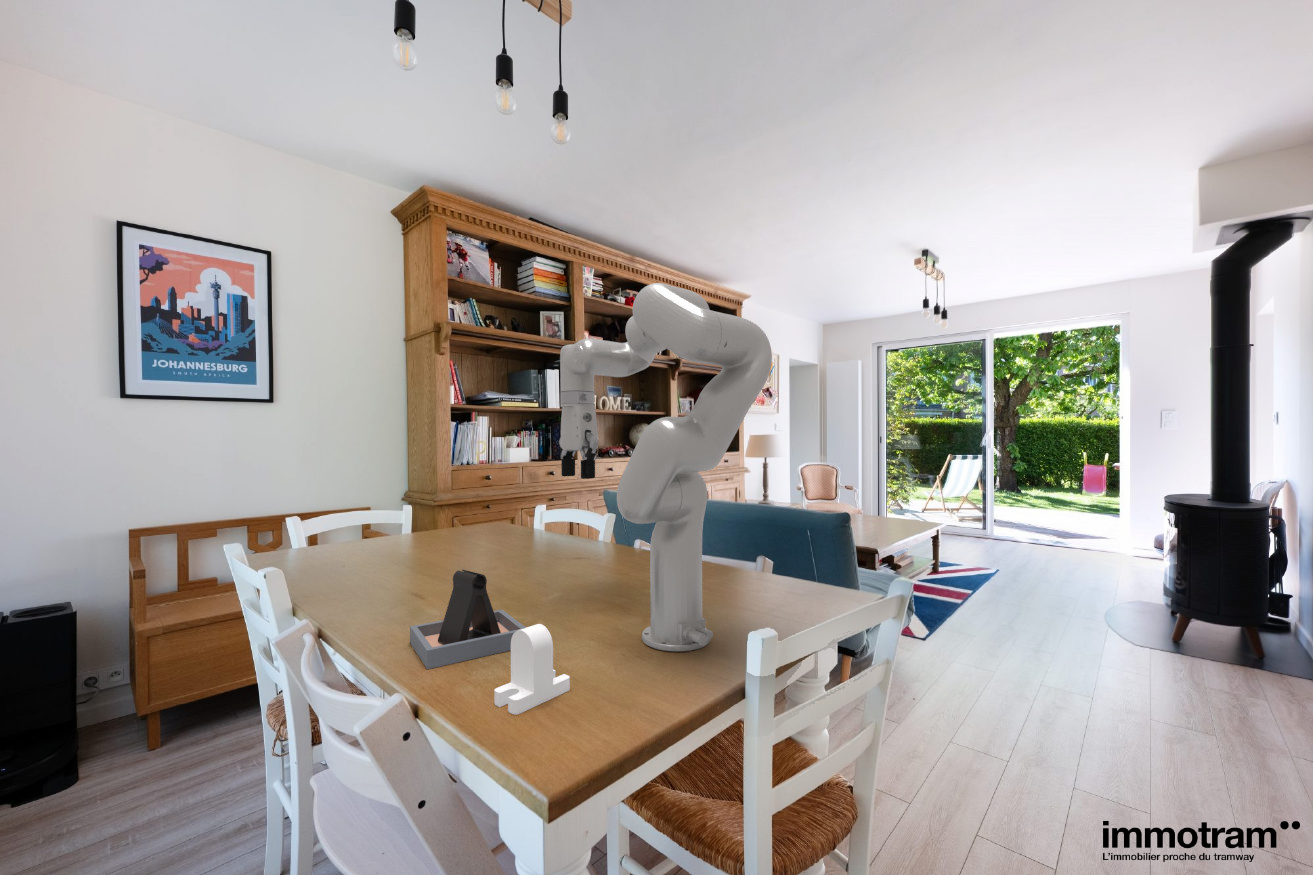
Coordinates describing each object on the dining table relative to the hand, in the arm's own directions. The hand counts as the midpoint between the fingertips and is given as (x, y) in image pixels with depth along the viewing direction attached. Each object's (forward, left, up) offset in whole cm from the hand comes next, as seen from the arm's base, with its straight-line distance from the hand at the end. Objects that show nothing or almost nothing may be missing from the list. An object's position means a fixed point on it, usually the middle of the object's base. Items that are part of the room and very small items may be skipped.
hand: (577, 477), depth 123 cm
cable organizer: (-36, +25, -29) cm, 52 cm away
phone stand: (-11, +27, -28) cm, 40 cm away
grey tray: (-11, +27, -28) cm, 40 cm away
